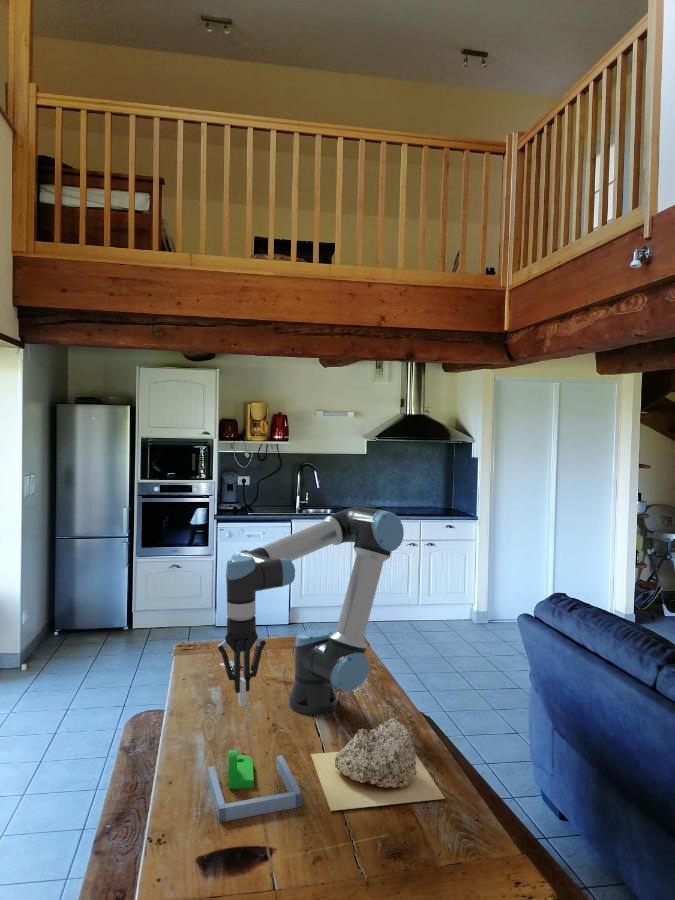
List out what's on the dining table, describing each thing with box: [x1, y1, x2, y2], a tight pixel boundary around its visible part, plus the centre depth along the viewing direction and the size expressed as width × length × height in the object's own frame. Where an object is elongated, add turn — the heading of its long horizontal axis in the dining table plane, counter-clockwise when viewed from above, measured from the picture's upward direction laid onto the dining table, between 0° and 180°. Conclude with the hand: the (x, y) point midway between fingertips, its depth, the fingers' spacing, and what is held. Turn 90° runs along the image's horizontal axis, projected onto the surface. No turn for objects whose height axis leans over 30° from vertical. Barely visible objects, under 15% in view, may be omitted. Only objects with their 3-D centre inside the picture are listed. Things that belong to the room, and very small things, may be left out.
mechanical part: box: [228, 749, 255, 790], centre depth 158 cm, size 12×6×8 cm, turn 10°
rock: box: [310, 718, 446, 812], centre depth 157 cm, size 28×22×16 cm
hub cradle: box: [207, 755, 303, 823], centre depth 151 cm, size 19×18×3 cm
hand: (242, 703), depth 167 cm, fingers closed
